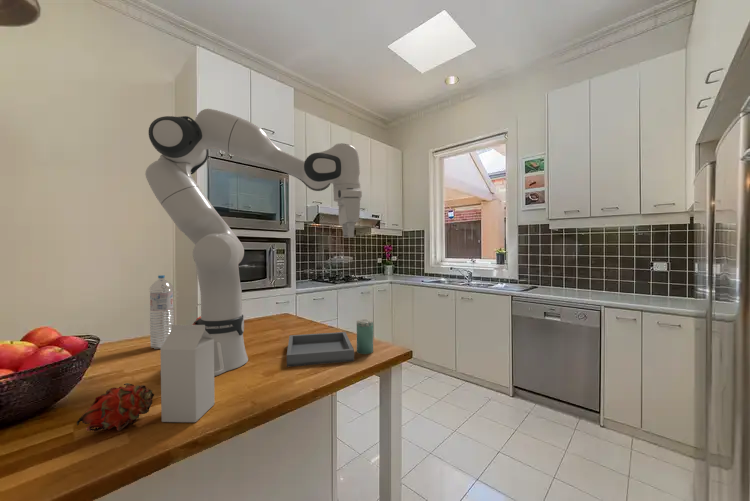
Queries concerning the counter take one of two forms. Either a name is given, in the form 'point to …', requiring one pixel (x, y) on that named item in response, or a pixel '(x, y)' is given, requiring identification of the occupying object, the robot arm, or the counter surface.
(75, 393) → the counter surface
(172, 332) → the milk carton
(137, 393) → the dragon fruit
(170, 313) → the water bottle
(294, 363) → the tray
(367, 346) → the green rounded cylinder
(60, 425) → the counter surface
